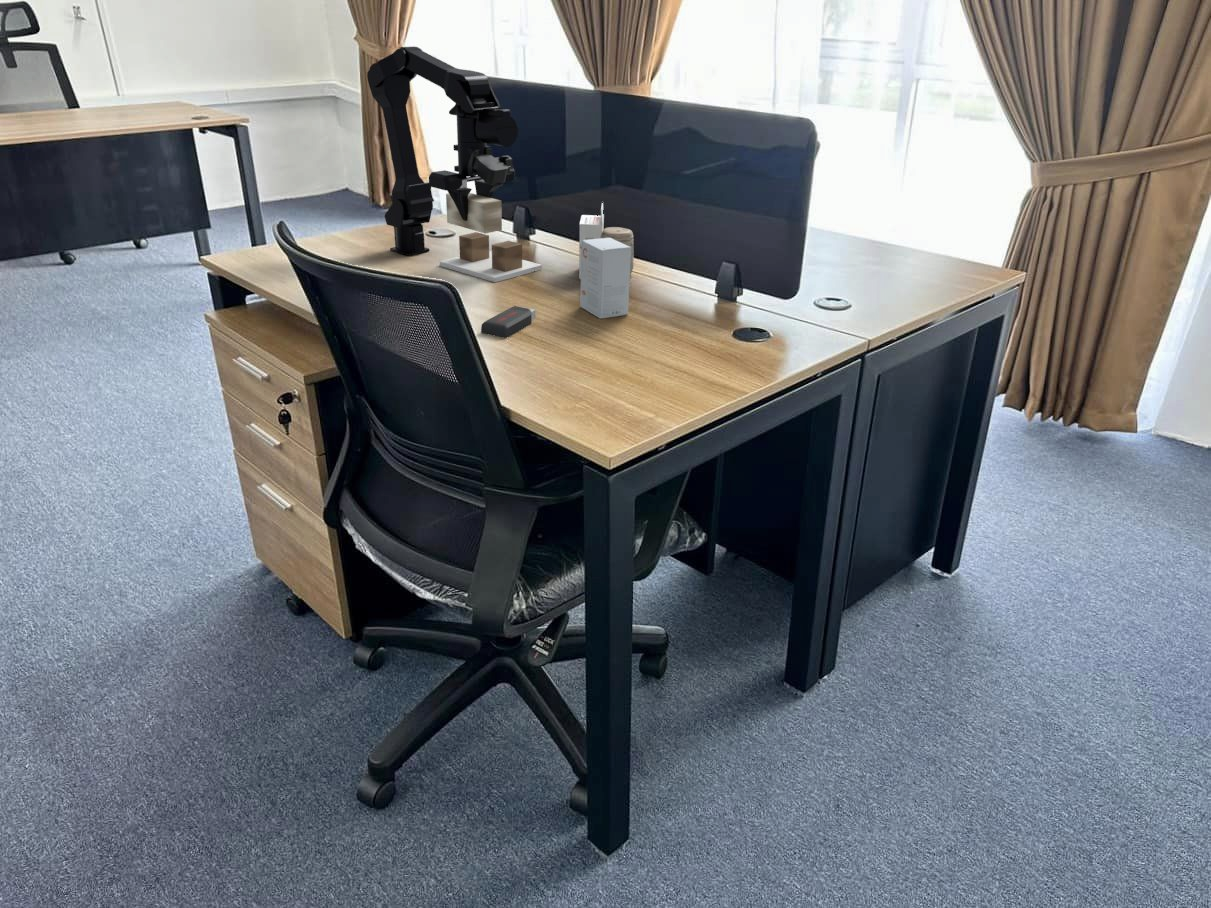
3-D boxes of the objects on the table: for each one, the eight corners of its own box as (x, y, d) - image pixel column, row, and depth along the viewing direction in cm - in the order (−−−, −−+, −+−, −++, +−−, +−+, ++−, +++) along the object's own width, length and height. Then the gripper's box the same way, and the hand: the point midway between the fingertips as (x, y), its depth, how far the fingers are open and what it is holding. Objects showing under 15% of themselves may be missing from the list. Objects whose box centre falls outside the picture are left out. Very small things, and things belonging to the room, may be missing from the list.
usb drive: (480, 335, 166) (480, 320, 165) (515, 316, 176) (515, 302, 174) (506, 340, 164) (506, 325, 163) (539, 321, 174) (539, 306, 172)
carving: (638, 290, 192) (641, 231, 186) (605, 294, 188) (607, 234, 183) (623, 281, 197) (625, 224, 191) (591, 285, 193) (592, 227, 188)
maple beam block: (447, 222, 198) (446, 193, 195) (463, 219, 201) (462, 191, 198) (485, 233, 191) (484, 203, 188) (501, 230, 194) (501, 200, 191)
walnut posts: (459, 258, 204) (459, 235, 202) (476, 254, 208) (476, 232, 206) (505, 271, 197) (505, 248, 194) (522, 267, 200) (522, 244, 198)
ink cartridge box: (579, 268, 205) (581, 199, 198) (602, 269, 205) (604, 200, 198) (577, 279, 197) (579, 208, 191) (601, 280, 197) (603, 209, 191)
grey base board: (439, 265, 203) (439, 261, 202) (486, 254, 212) (486, 249, 212) (495, 282, 193) (494, 277, 193) (541, 269, 203) (541, 264, 202)
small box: (628, 315, 177) (632, 246, 172) (599, 319, 175) (601, 250, 169) (607, 302, 184) (610, 236, 178) (579, 306, 181) (580, 239, 175)
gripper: (462, 150, 177) (465, 233, 184) (533, 141, 190) (533, 219, 197) (425, 142, 184) (428, 222, 191) (496, 134, 196) (497, 210, 203)
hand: (474, 218), depth 195 cm, fingers closed on maple beam block, 4 cm apart
